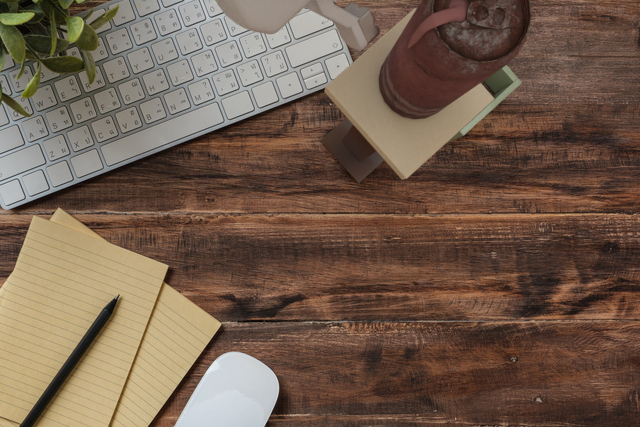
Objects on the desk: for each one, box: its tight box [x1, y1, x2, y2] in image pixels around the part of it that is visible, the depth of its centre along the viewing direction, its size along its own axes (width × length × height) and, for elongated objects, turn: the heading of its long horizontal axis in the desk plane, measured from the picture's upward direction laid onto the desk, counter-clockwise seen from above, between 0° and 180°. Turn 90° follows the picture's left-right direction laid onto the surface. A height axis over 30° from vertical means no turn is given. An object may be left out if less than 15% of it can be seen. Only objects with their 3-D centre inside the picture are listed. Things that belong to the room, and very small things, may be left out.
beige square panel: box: [323, 7, 494, 181], centre depth 40 cm, size 10×10×2 cm
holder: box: [447, 64, 523, 143], centre depth 66 cm, size 11×11×6 cm
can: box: [378, 0, 533, 119], centre depth 32 cm, size 6×6×14 cm
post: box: [319, 116, 385, 185], centre depth 54 cm, size 8×8×27 cm
